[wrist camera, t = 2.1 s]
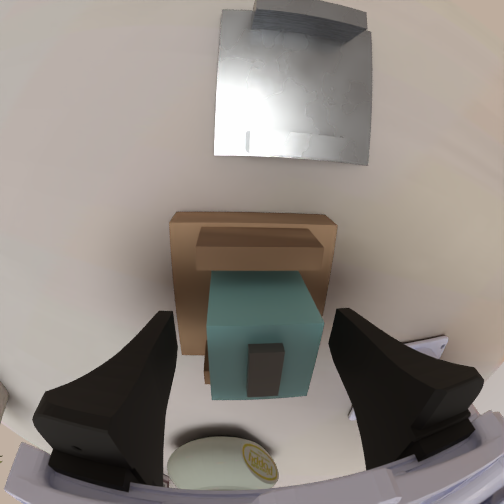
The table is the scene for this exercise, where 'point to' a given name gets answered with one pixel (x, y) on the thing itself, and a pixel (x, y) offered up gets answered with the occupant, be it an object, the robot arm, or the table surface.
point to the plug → (261, 335)
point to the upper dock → (242, 259)
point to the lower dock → (295, 82)
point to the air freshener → (222, 465)
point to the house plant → (2, 401)
